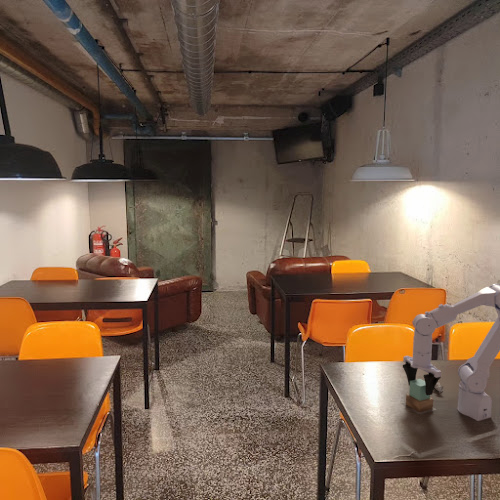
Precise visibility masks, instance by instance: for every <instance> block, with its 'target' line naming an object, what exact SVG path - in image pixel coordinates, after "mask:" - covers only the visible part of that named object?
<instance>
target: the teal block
mask: <svg viewBox="0 0 500 500" xmlns="http://www.w3.org/2000/svg"><path fill="white" fill-rule="evenodd" d="M408 390H409V393H408V394H409V395H410V396H412V397H414V398H415V399H417V400H419V401H421V400H425V399H429V398H430V397H431V395H426V385H425V379H424V380H423V379H422V378H418V379H417V378H416V380H412V381H410V386H409V389H408Z"/></svg>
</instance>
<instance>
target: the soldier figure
mask: <svg viewBox="0 0 500 500" xmlns="http://www.w3.org/2000/svg"><path fill="white" fill-rule="evenodd" d="M435 389H436V390H437V391H438V393H439V394H440V393H441V392H444V385H441V383H440V381H438V382H437V383H436V385H435V387H434V390H435Z"/></svg>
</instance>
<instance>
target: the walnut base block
mask: <svg viewBox="0 0 500 500" xmlns="http://www.w3.org/2000/svg"><path fill="white" fill-rule="evenodd" d="M405 402H406V405H408V406H410V407H411V408H413V409H414V410H416V411H418V412H422V411H426V410H430V409H433V406H434V398H432V397H431V396H430V398H429V399H425V400H421V401H419V400H417V399H415V398H414V397H412V396H410V395H409V393H407V394H405Z"/></svg>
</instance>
